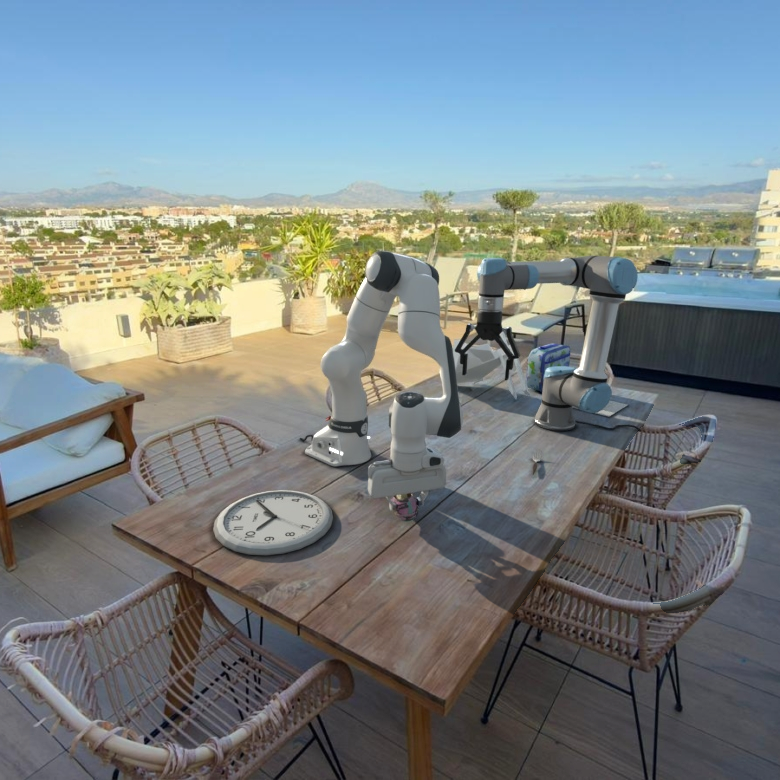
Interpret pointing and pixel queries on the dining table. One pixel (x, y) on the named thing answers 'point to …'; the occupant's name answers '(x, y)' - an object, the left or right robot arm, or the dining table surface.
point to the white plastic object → (486, 364)
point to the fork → (536, 461)
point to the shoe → (406, 507)
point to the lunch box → (545, 363)
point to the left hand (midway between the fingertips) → (406, 507)
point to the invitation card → (611, 408)
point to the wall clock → (273, 522)
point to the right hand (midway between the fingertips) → (485, 376)
